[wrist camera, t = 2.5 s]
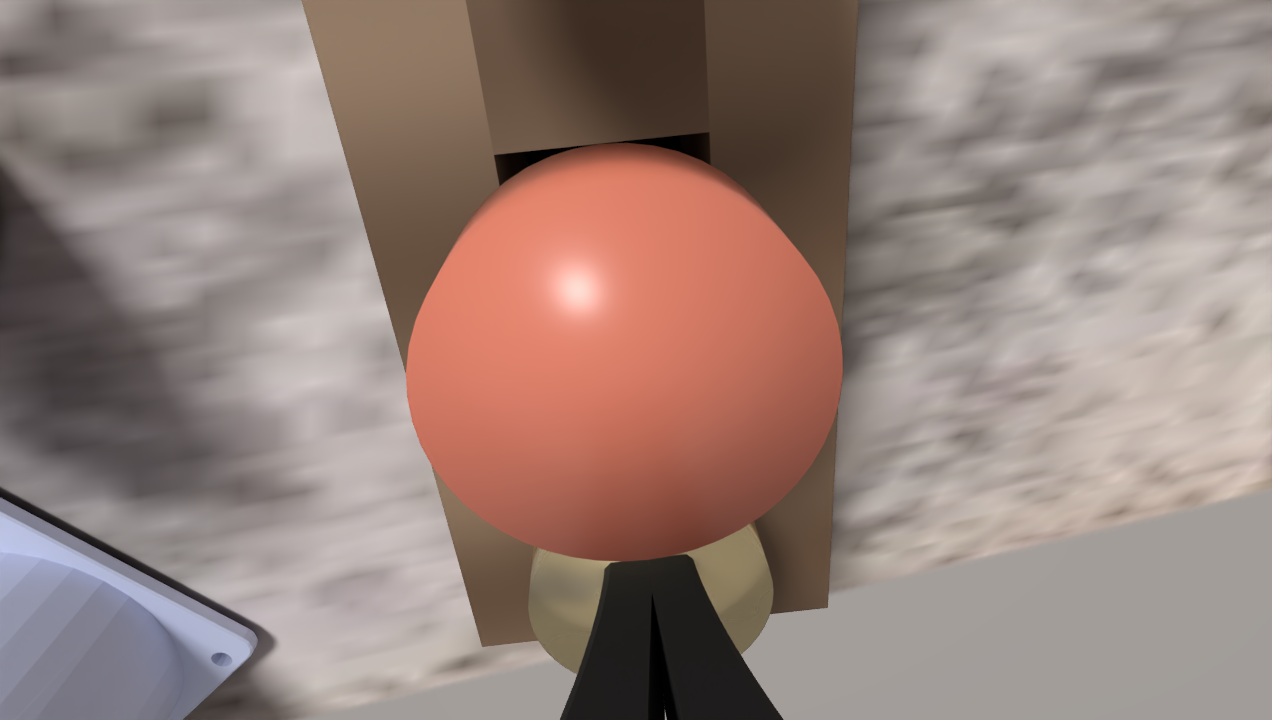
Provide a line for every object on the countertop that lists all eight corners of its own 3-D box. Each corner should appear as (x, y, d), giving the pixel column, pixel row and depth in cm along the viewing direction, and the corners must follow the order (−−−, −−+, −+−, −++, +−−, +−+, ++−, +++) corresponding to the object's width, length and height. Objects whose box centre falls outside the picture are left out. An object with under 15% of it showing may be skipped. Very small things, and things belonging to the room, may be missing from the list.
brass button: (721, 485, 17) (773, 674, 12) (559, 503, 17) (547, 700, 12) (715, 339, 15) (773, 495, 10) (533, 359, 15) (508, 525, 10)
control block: (779, 485, 18) (827, 607, 14) (503, 515, 18) (482, 646, 14) (784, -388, 10) (889, -594, 7) (306, -341, 10) (155, -524, 7)
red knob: (737, 326, 12) (834, 539, 7) (509, 351, 12) (457, 581, 7) (730, 82, 10) (855, 154, 6) (462, 110, 10) (351, 207, 6)
